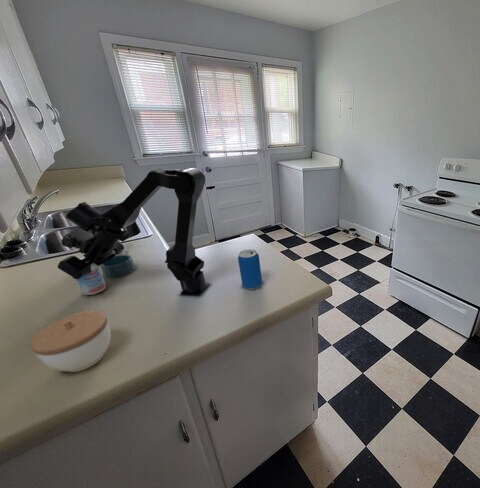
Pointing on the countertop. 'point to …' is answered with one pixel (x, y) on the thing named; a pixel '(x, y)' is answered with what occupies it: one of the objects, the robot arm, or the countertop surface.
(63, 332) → the lidded bowl
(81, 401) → the countertop surface
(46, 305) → the countertop surface
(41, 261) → the countertop surface
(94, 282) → the pill bottle
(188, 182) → the robot arm
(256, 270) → the beverage can
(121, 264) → the bottle holder
